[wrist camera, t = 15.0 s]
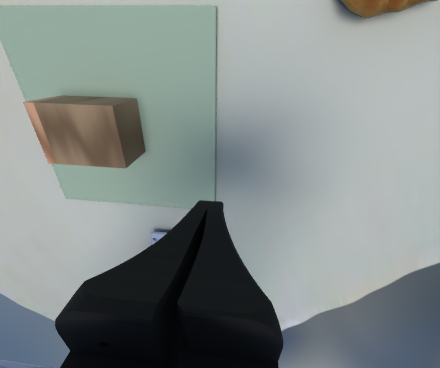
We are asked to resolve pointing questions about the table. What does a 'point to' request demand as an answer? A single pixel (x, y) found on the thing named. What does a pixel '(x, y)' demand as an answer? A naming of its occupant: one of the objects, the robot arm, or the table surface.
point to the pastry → (379, 6)
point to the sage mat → (128, 90)
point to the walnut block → (88, 130)
